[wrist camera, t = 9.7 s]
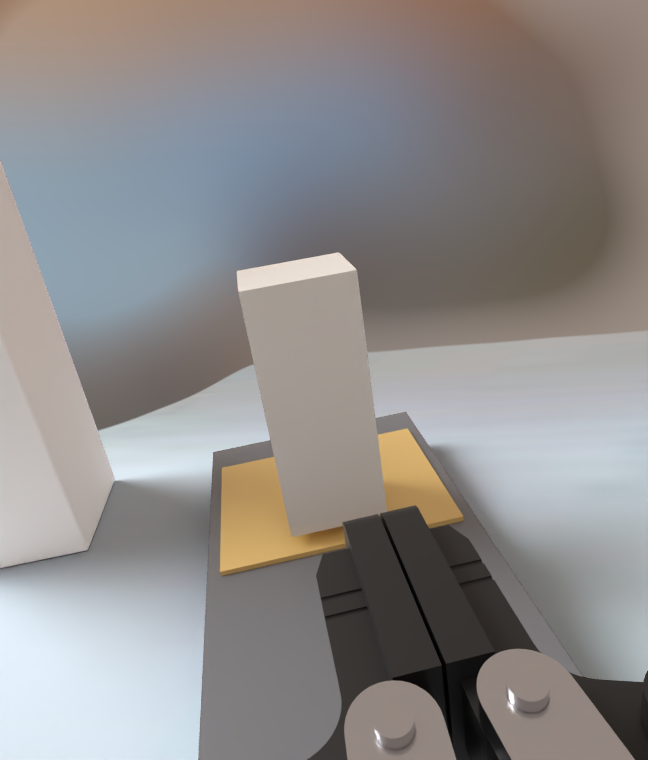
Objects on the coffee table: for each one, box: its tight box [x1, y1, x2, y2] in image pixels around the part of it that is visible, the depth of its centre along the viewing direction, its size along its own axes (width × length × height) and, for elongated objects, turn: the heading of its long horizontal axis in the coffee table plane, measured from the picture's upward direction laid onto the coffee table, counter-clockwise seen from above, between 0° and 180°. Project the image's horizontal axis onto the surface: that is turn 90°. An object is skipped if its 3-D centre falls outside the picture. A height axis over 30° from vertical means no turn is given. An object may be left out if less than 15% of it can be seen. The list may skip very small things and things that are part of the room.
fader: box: [237, 253, 387, 537], centre depth 20 cm, size 4×3×9 cm
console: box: [198, 412, 583, 760], centre depth 17 cm, size 10×26×2 cm, turn 9°
